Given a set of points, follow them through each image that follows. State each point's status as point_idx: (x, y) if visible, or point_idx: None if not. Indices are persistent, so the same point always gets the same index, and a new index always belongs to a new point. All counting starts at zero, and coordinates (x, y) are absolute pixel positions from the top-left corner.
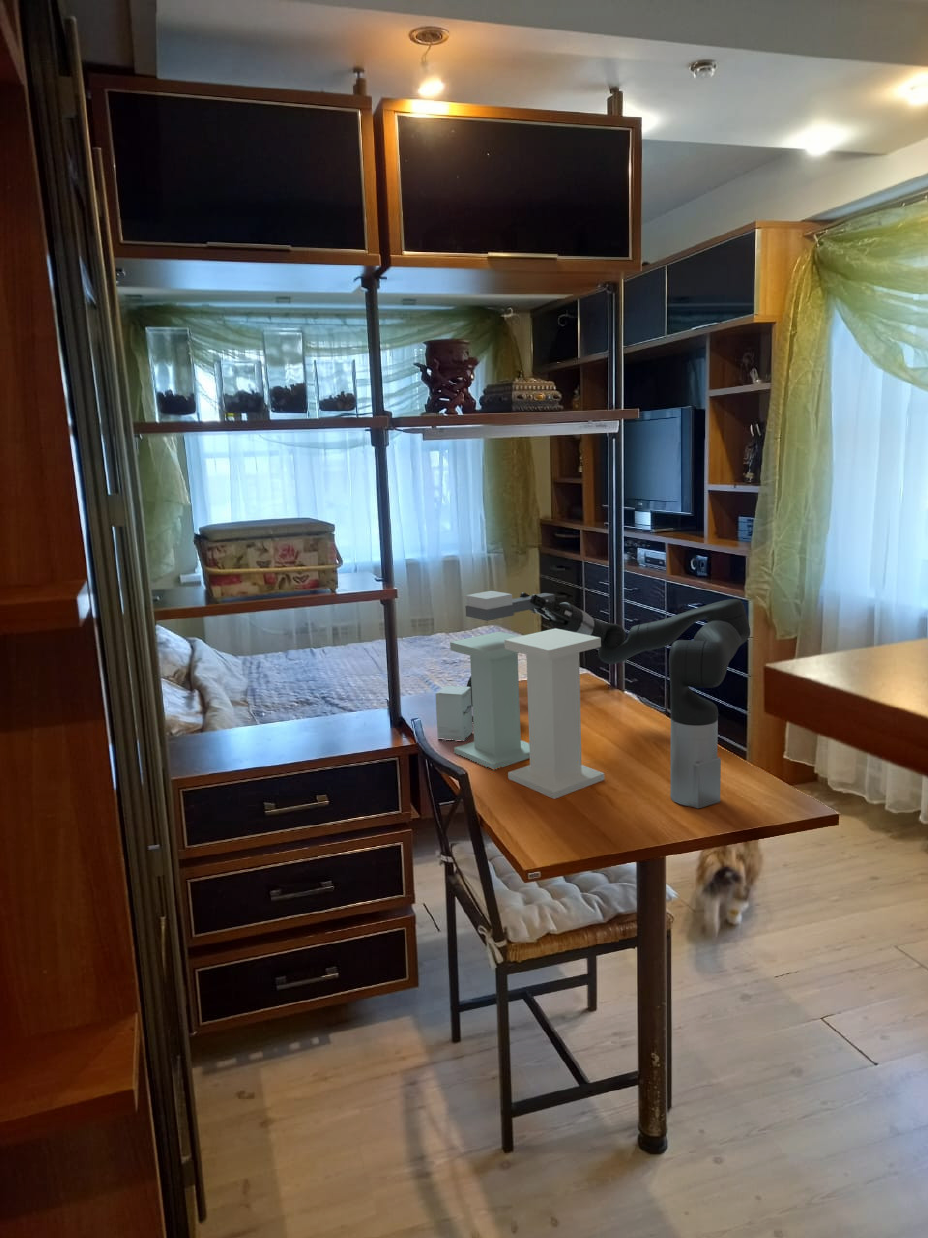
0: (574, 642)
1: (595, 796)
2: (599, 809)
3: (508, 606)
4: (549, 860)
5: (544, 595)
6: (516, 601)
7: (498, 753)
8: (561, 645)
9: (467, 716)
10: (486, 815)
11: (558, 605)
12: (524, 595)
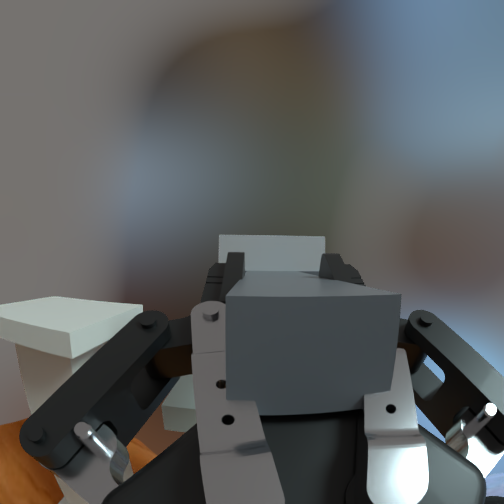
0: (19, 303)
1: (48, 487)
2: (38, 465)
3: None
4: None
5: (269, 285)
6: (252, 272)
7: None
8: (39, 300)
9: None
10: (135, 438)
11: (114, 350)
12: (322, 269)
